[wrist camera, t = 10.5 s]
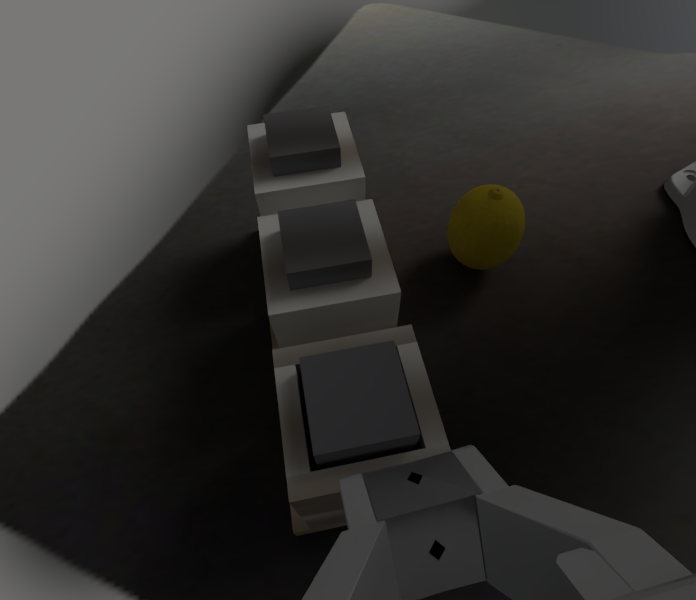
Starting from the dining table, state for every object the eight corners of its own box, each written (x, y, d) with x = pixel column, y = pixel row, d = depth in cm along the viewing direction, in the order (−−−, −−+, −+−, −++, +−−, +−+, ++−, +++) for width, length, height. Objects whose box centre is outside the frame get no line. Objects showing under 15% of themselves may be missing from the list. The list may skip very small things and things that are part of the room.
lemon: (517, 283, 36) (552, 213, 30) (450, 292, 36) (470, 224, 29) (495, 232, 39) (522, 158, 33) (433, 240, 39) (448, 167, 32)
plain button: (312, 407, 26) (299, 357, 20) (387, 393, 26) (393, 340, 21) (324, 488, 23) (313, 455, 18) (407, 470, 24) (420, 434, 18)
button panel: (261, 229, 40) (227, 108, 30) (359, 213, 41) (358, 90, 31) (296, 536, 27) (256, 501, 17) (442, 504, 28) (487, 453, 18)
